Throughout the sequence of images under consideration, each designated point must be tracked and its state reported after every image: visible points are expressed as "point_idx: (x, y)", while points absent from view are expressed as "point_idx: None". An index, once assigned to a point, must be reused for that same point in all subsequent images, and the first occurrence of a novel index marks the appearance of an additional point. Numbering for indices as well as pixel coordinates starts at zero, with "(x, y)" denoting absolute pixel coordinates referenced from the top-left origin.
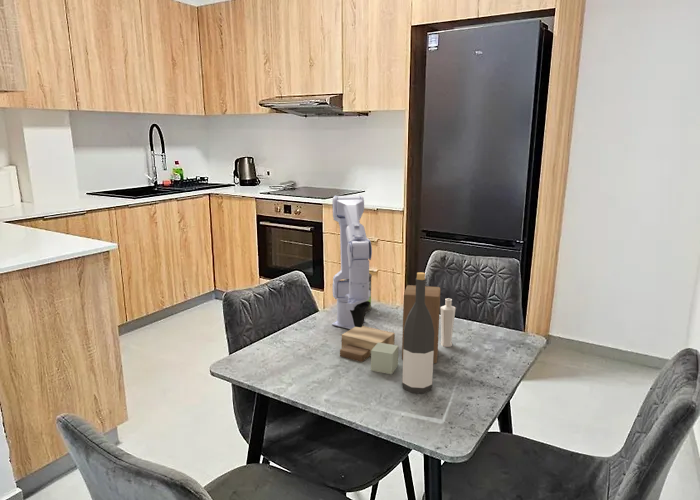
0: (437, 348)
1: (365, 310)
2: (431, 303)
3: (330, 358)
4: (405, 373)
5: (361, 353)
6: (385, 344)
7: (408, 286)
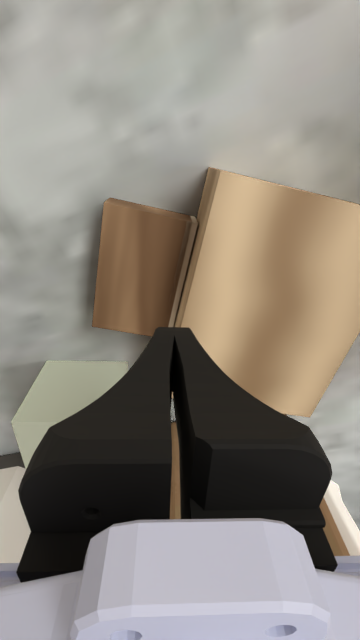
0: None
1: (181, 507)
2: None
3: (60, 158)
4: None
5: (111, 318)
6: None
7: None
